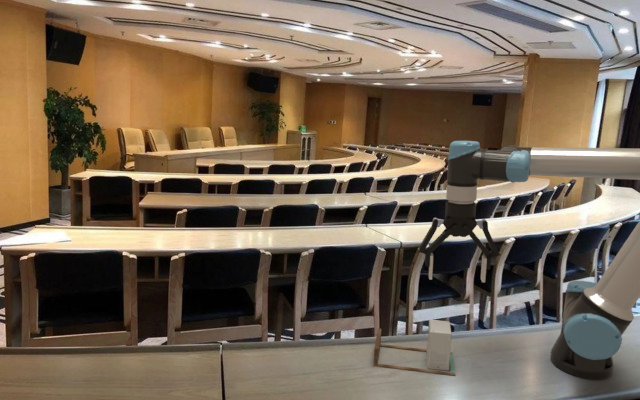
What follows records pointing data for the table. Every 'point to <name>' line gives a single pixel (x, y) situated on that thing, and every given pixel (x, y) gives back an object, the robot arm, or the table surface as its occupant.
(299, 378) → the table surface
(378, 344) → the bay
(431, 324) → the small box
